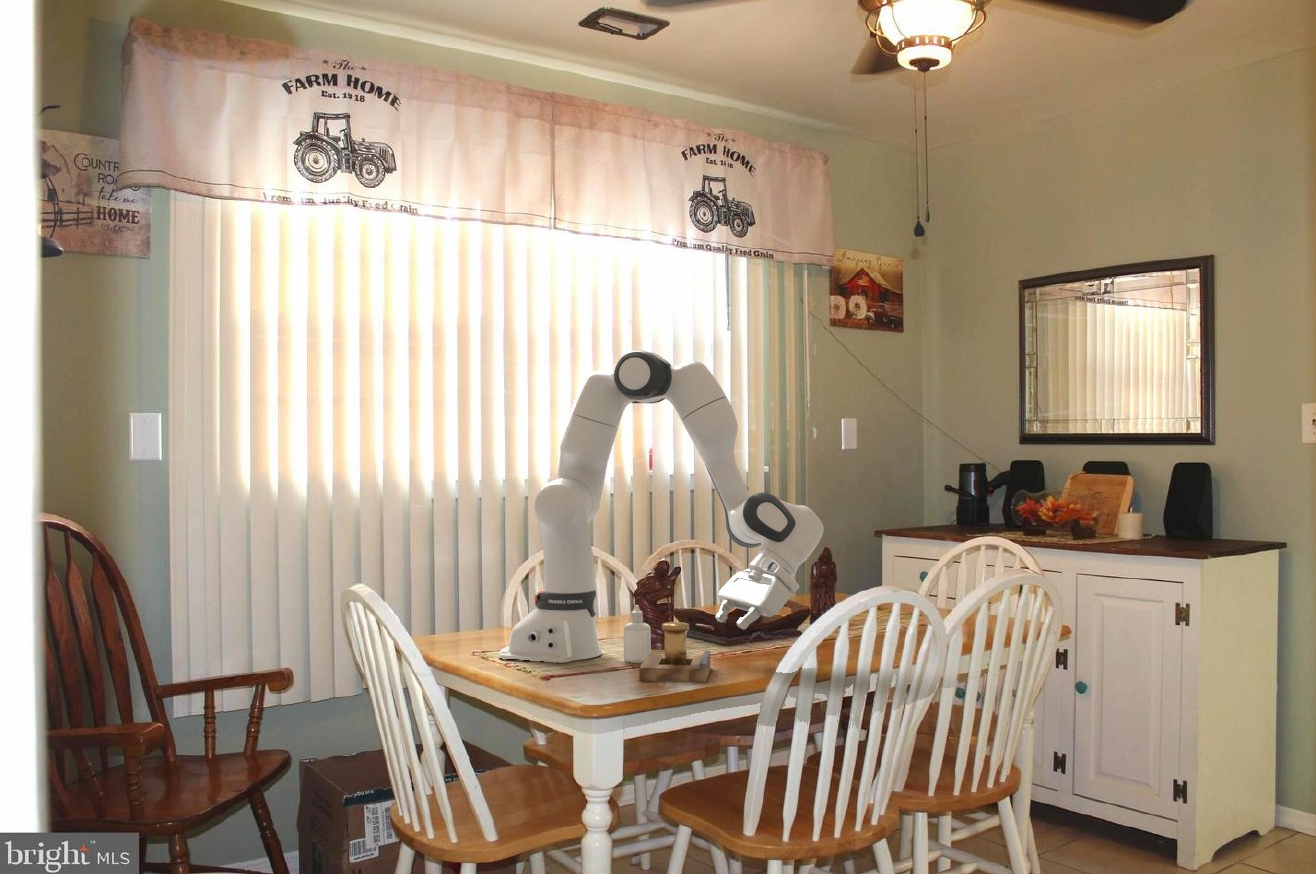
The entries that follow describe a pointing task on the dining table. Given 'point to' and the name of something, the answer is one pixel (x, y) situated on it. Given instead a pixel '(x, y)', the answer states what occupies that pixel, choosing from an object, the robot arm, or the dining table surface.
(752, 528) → the robot arm
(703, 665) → the jig
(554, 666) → the dining table surface
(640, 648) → the eye dropper bottle
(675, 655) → the bushing
